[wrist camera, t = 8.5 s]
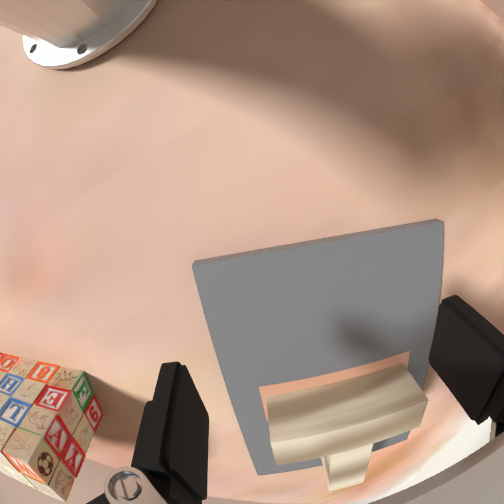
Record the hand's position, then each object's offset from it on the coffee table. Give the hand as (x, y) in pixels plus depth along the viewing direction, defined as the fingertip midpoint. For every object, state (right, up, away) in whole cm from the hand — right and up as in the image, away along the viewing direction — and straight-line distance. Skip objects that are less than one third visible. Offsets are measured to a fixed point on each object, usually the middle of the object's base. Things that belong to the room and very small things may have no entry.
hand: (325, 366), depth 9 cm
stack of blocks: (-28, -10, +14) cm, 33 cm away
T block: (+6, -12, +14) cm, 19 cm away
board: (+5, -7, +14) cm, 16 cm away
